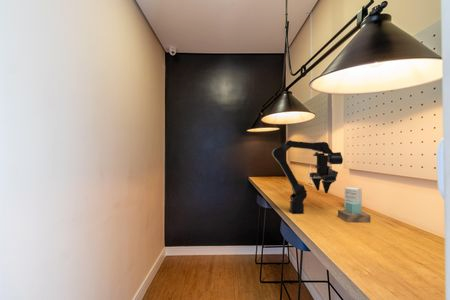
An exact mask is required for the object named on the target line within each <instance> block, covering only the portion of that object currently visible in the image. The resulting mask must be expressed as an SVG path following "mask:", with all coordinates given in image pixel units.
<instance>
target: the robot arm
mask: <svg viewBox="0 0 450 300" xmlns="http://www.w3.org/2000/svg"><path fill="white" fill-rule="evenodd" d="M291 148H294V149H295V148H296V149H306V150H311V151H314V153H313V154H312V156H313V157H316V165H315V166H314V167H315V168H316V172H315V171H314V172H310V173H309V178H310V179H311V180H312V183H313V185H314V187H315V189H316V191H319V190H320V187H321V185H320V184H322V188H323V191H324V193H325V194H328V193H329V190H330V187H331V184H333V183H335V182H336V181H337V177H338V174H339V171H336V170H333V169H332V168H331V167H330V166H329V165H342V164H343V163H344V162H343V161H344V158H343V155H342V152H333V151H332V149H331V148H330V145H329V144H328V142H325V141H321V142H320V141H319V142H317V141H316V142H306V141H296V140H286V141H285V142H284V143H283V144H281V145H280V146H279V147H277V148H274V149H273V150H272V151H271V156H272V157H273V158H274V159H275V161H276V162H277V163H278V164H279V165H280V168H281V169H282V171H283V173H284V174H285V176H286V178H287V180H288V182H289V184H290V186H291V190H292V193H291V194H290V195H289V199H290V201H289V203H290V204H289V207H290V208H289V212H290V213H291V214H292V215H293V214H295V215H297V214H300V215H301V214H305V209H304V208H305V207H304V206H305V204H304V200H306V198H307V196H308V194H307V192H308V191H307V190H306V188H305V186H304V184H302V183H299V181H298V180H297V178H296V176H295V175H294V173H293V171H292V170H291V168H290V166H289V164H288V163H287V159H286V155H285V153H286V152H287V151H288V150H290V149H291ZM328 163H329V165H328Z"/></svg>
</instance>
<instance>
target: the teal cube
mask: <svg viewBox="0 0 450 300" xmlns="http://www.w3.org/2000/svg"><path fill="white" fill-rule="evenodd" d="M344 210H345V212H348V213H350V214H361V211H362V209H361V204H360V203H357V202H345V201H344Z"/></svg>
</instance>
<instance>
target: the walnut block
mask: <svg viewBox="0 0 450 300" xmlns="http://www.w3.org/2000/svg"><path fill="white" fill-rule="evenodd" d="M337 217H338V218H339V219H341V220H344V222H346V223H360V224H361V223H364V224H366V223H367V224H368V223H369V224H371V215H370V214H368V213H366V212H363V211H362V210H361V214H350V213H348V212H345V209H337Z"/></svg>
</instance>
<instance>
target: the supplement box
mask: <svg viewBox="0 0 450 300" xmlns="http://www.w3.org/2000/svg"><path fill="white" fill-rule="evenodd" d="M362 199H363V198H362V188H361V187H353V186H348V187H344V203H345V202H357V203H360V204H361V210H362V207H363V206H362Z"/></svg>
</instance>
